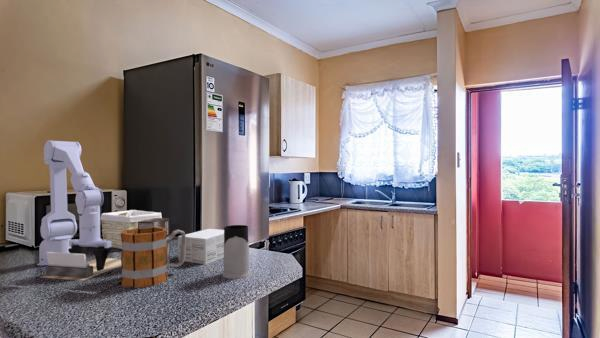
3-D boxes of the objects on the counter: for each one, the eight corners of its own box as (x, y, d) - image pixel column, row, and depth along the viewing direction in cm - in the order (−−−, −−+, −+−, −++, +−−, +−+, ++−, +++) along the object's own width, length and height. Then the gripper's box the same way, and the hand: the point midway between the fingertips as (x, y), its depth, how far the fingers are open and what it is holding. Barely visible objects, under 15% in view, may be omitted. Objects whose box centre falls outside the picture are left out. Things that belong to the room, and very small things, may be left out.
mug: (128, 291, 96) (127, 236, 96) (114, 280, 106) (113, 230, 106) (195, 276, 109) (195, 228, 109) (177, 267, 119) (177, 223, 119)
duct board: (39, 279, 108) (39, 267, 108) (100, 259, 131) (100, 250, 131) (82, 282, 104) (82, 270, 104) (137, 261, 128) (137, 251, 128)
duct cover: (50, 265, 111) (48, 266, 110) (48, 251, 110) (46, 252, 109) (87, 267, 107) (85, 268, 107) (85, 253, 107) (83, 255, 106)
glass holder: (221, 279, 106) (221, 229, 106) (224, 266, 120) (223, 222, 120) (250, 277, 107) (250, 228, 107) (250, 265, 121) (249, 221, 121)
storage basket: (99, 246, 156) (98, 212, 156) (134, 239, 169) (134, 209, 169) (127, 253, 142) (127, 216, 142) (163, 245, 155) (163, 212, 155)
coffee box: (154, 262, 127) (153, 217, 127) (170, 262, 125) (169, 218, 125) (137, 269, 118) (137, 221, 118) (154, 270, 116) (154, 221, 116)
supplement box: (208, 251, 144) (207, 228, 144) (234, 254, 138) (234, 230, 138) (177, 261, 129) (177, 235, 129) (205, 264, 123) (205, 238, 123)
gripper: (118, 225, 115) (118, 267, 115) (81, 224, 118) (82, 264, 118) (101, 229, 108) (102, 273, 108) (63, 227, 111) (63, 270, 111)
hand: (90, 269), depth 113 cm, fingers open, 7 cm apart
